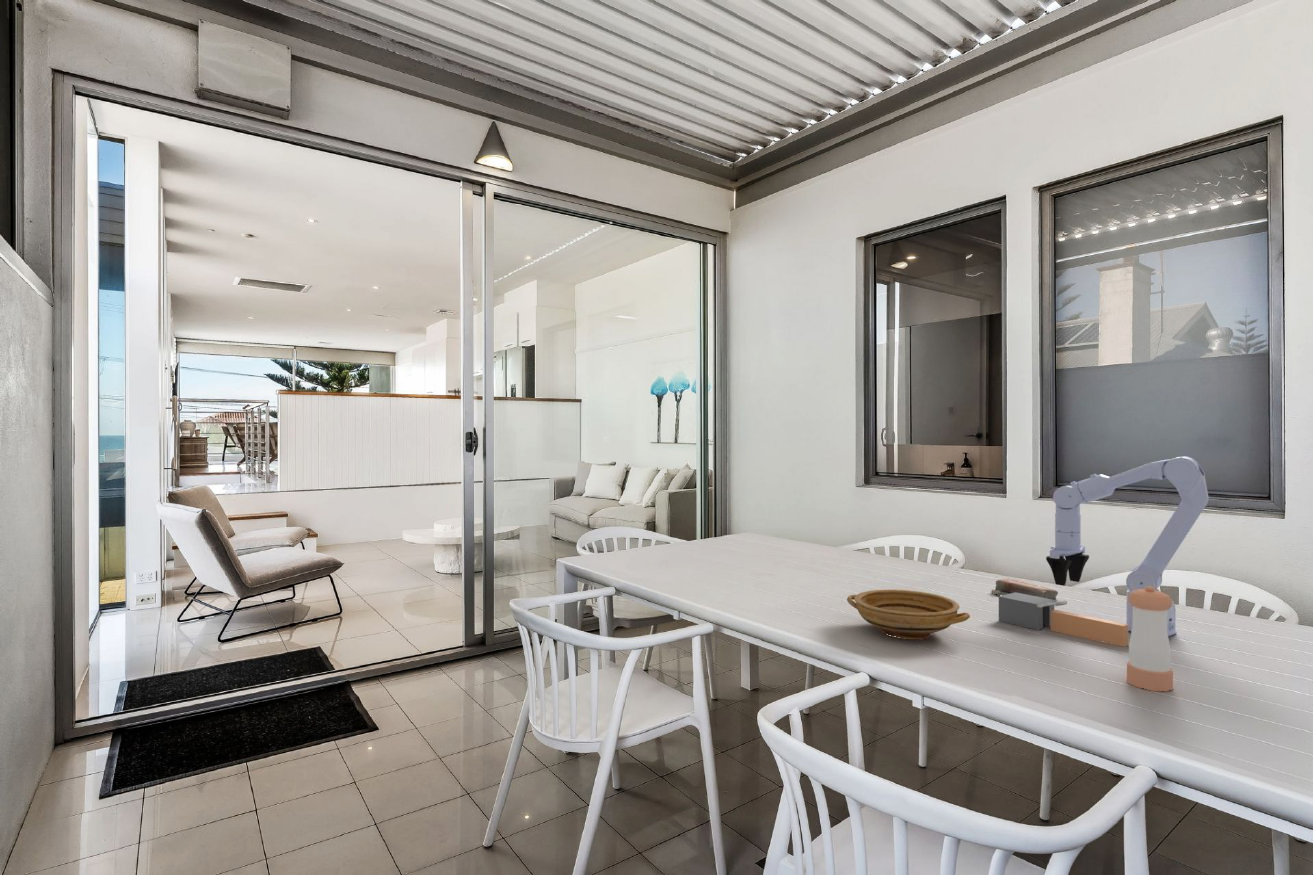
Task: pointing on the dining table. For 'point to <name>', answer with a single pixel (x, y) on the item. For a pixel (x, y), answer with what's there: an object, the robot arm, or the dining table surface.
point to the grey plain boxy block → (1026, 610)
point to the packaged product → (1025, 589)
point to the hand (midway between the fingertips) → (1067, 583)
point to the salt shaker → (1150, 641)
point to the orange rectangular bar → (1089, 627)
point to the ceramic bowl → (907, 612)
